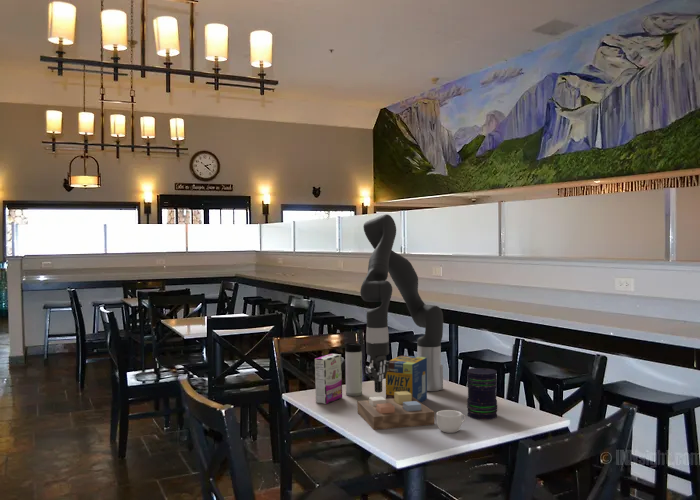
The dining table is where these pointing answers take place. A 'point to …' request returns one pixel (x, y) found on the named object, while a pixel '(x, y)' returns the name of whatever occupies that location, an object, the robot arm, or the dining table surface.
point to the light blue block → (411, 406)
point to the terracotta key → (385, 408)
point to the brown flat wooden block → (395, 415)
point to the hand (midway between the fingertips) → (378, 391)
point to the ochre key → (402, 397)
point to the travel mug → (353, 369)
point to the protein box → (407, 377)
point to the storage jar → (482, 393)
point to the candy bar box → (328, 378)
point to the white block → (376, 400)
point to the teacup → (449, 420)
